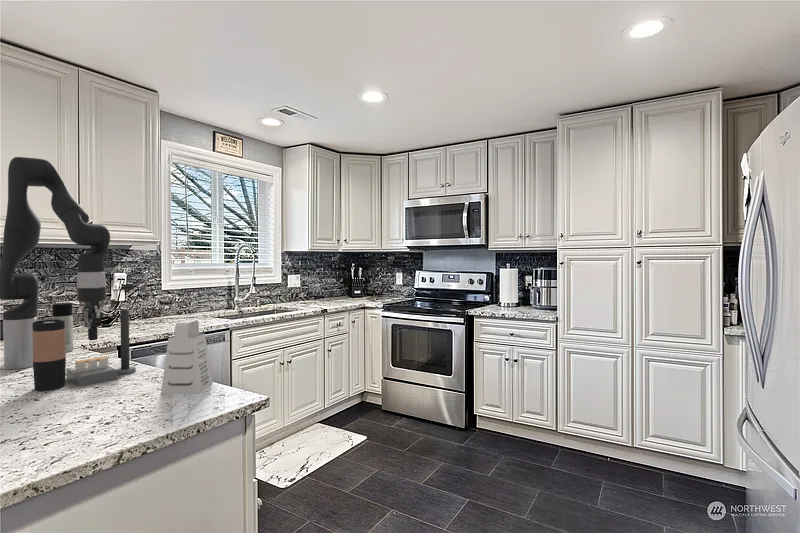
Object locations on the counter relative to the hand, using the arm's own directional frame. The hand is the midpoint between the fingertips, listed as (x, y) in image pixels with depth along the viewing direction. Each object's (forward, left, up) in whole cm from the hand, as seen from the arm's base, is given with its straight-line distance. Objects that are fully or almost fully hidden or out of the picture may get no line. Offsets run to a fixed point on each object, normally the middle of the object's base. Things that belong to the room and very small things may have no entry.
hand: (92, 339), depth 138 cm
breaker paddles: (0, 0, -10) cm, 10 cm away
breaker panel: (0, 0, -13) cm, 13 cm away
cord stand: (0, +9, -13) cm, 15 cm away
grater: (+34, +15, -13) cm, 39 cm away
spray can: (-56, +5, -13) cm, 58 cm away
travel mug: (+1, -11, -13) cm, 17 cm away
